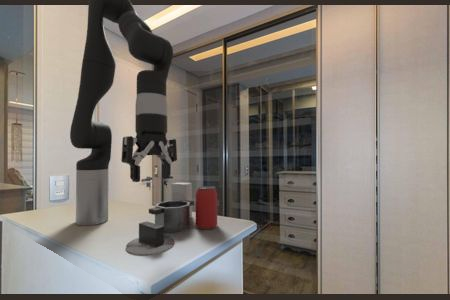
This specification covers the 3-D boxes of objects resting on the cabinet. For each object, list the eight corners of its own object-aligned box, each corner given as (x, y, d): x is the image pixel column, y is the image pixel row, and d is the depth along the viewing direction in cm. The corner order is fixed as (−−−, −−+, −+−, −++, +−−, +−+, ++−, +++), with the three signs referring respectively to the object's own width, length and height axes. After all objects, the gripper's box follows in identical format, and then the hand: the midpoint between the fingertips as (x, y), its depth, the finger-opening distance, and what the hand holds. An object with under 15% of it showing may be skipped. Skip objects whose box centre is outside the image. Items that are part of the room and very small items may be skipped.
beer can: (214, 230, 65) (214, 189, 66) (192, 229, 67) (192, 188, 67) (219, 223, 72) (219, 186, 72) (199, 222, 73) (199, 185, 73)
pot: (141, 230, 66) (141, 206, 66) (180, 218, 78) (180, 198, 78) (163, 238, 60) (163, 211, 60) (202, 224, 72) (202, 201, 72)
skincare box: (192, 216, 81) (192, 182, 81) (186, 219, 76) (186, 184, 77) (177, 215, 82) (177, 182, 83) (170, 218, 78) (170, 183, 79)
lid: (116, 248, 54) (117, 226, 54) (156, 234, 63) (156, 216, 63) (144, 261, 48) (144, 236, 48) (183, 244, 57) (183, 223, 57)
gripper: (165, 119, 64) (165, 176, 64) (115, 112, 53) (115, 181, 52) (183, 116, 60) (183, 178, 59) (133, 108, 48) (133, 184, 48)
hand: (151, 179), depth 56 cm, fingers open, 8 cm apart
